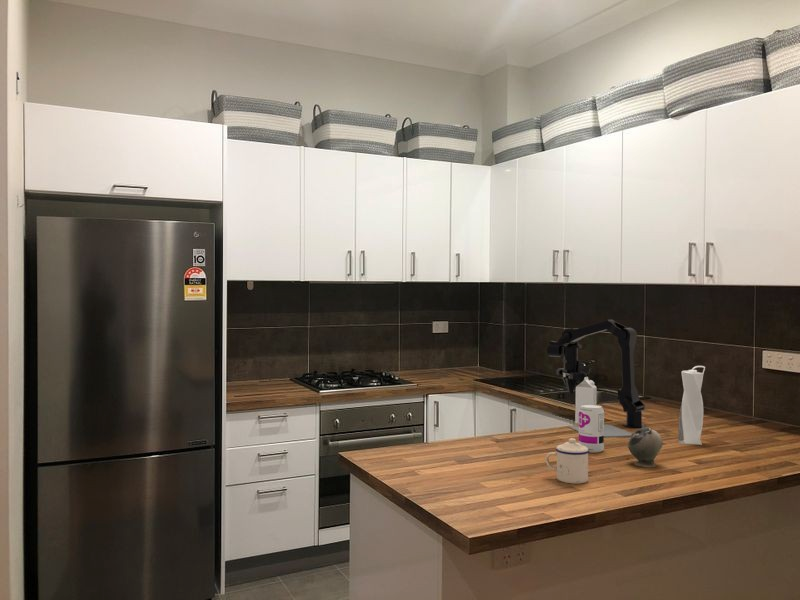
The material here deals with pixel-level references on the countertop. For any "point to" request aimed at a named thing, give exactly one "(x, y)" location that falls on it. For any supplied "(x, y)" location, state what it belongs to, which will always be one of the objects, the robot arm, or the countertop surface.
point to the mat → (610, 431)
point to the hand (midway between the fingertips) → (570, 393)
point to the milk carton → (585, 395)
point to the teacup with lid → (571, 462)
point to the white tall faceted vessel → (691, 408)
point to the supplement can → (591, 427)
